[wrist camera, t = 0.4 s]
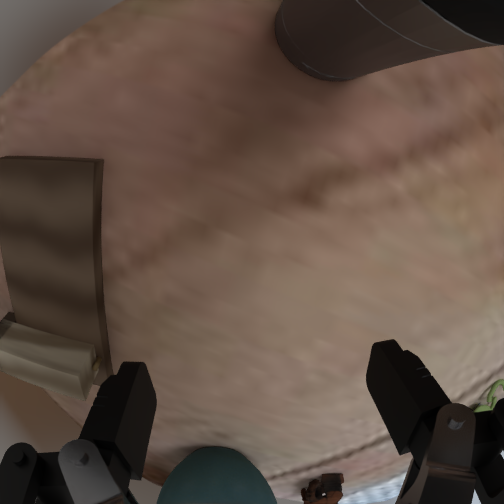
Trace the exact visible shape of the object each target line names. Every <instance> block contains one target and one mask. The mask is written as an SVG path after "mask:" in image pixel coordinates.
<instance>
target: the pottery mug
mask: <svg viewBox="0 0 504 504" xmlns="http://www.w3.org/2000/svg"><path fill="white" fill-rule="evenodd" d="M342 483H344V478H343V474H322V482H320V481H319V480H316V479H315V480H312V481H310V482H309V486H308V488H307V490H306V489H305V488H303V489H301V495H302V500H303V501H304V504H338V501H340V499H341V498H342V496H343V493H342V486H341V484H342ZM323 493H325V494H326V495H324V496H322V494H323Z"/></svg>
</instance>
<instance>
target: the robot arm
mask: <svg viewBox="0 0 504 504" xmlns="http://www.w3.org/2000/svg"><path fill="white" fill-rule="evenodd" d="M275 34H276V37H277V41H278V44H279V46H280V48H281V49H282V51H283V53H284V54H285V55H286V57H287V58H288V59H289V60H290V61H291V62H292V63H293V64H294V65H295V66H296V67H298V68H299V69H300V70H302V71H304V72H305V73H307V74H309V75H311V76H313V77H316V78H319V79H322V80H328V81H345V80H350V79H354V78H357V77H360V76H363V75H367V74H370V73H374V72H377V71H380V70H384V69H387V68H391V67H394V66H398V65H402V64H406V63H410V62H413V61H417V60H422V59H426V58H430V57H435V56H439V55H444V54H449V53H454V52H459V51H464V50H470V49H476V48H482V47H489V46H497V45H504V0H283V1H282V3H281V6H280V8H279V10H278V13H277V16H276V20H275ZM366 383H367V387H368V390H369V392H370V394H371V396H372V398H373V400H374V402H375V404H376V406H377V408H378V411H379V413H380V415H381V417H382V419H383V421H384V423H385V425H386V427H387V429H388V431H389V433H390V436H391V438H392V440H393V442H394V444H395V446H396V448H397V451H398V453H399V455H402V454H405V453H408V452H411V453H412V455H413V458H412V460H411V462H410V465H409V468H408V471H407V474H406V477H405V480H404V482H403V485H402V488H401V490H400V493H399V496H398V498H397V501H396V503H395V504H471V503H472V498H473V493H474V489H475V491H476V493H477V495H478V498H479V500H480V502H481V504H504V459H503V457H502V455H501V454H500V453H501V452H502V450H503V451H504V398H502V399H500V400H499V401H498V402H497V403H496V405H495V406H494V408H493V410H488V411H481V412H472V410H471V409H470V408H468V407H467V406H465V405H463V404H459V403H452V402H451V401H450V400H449V398H448V397H447V395H446V394H445V392H444V391H443V390H442V388H441V387H440V385H439V384H438V383H437V381H436V380H435V379H434V377H433V376H431V373H430V372H429V370H428V369H427V368H425V365H424V364H423V362H422V361H421V360H420V358H419V357H418V356H416V355H415V354H413V353H412V352H410V351H409V350H405V351H403V350H402V348H401V347H400V346H399V344H398V343H397V342H396V340H394V339H391V340H386V341H381V342H376V343H374V344H373V346H372V349H371V354H370V359H369V364H368V369H367V373H366ZM156 406H157V399H156V393H155V390H154V387H153V384H152V381H151V378H150V375H149V373H148V370H147V367H146V364H145V363H144V362H123V363H122V364H121V366H120V369H119V371H118V373H117V375H110V376H109V377H108V378H107V379H106V380H105V381H104V382H103V383H102V384H101V386H100V389H99V391H98V393H97V397H96V398H95V400H94V402H93V406H92V407H91V409H90V412H89V414H88V417H87V419H86V421H85V424H84V426H83V429H82V431H81V434H80V436H79V438H78V439H76V440H72V441H70V442H68V443H66V444H65V445H64V446H63V447H62V449H61V450H60V452H49V453H37V451H35V449H34V448H33V447H32V446H31V445H29V444H27V443H16V444H14V445H12V446H11V447H9V448H8V449H7V451H6V452H5V454H4V457H3V459H2V462H1V464H0V504H138V502H137V501H136V499H135V497H134V496H133V494H132V493H131V491H130V490H129V488H128V487H129V482H130V479H134V480H141V478H142V473H143V468H144V463H145V458H146V453H147V448H148V443H149V439H150V434H151V429H152V425H153V420H154V416H155V411H156ZM36 497H37V499H36ZM35 501H36V502H35Z"/></svg>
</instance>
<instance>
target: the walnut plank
mask: <svg viewBox="0 0 504 504" xmlns="http://www.w3.org/2000/svg"><path fill="white" fill-rule="evenodd" d="M103 164H104V159H89V158H71V157H46V156H5V157H1V158H0V245H1V252H2V258H3V264H4V270H5V275H6V280H7V285H8V290H9V294H10V298H11V303H12V307H13V310H14V314H15V318H16V322H17V323H18V324H21V325H24V326H27V327H30V328H33V329H37V330H40V331H43V332H47V333H50V334H54V335H58V336H61V337H65V338H69V339H73V340H76V341H80V342H84V343H89V344H93V345H94V348H95V354H96V359H97V357H101V358H102V360H101V363H100V365H99V367H98V369H99V370H98V373H97V375H96V377H95V380H94V382H93V384H95V385H99V386H101V384H102V383H103V382H104V381H105V380H106V379H107V378H108V377H109V376H110V375H113V370H112V363H111V357H110V350H109V343H108V335H107V326H106V317H105V306H104V294H103V279H102V256H101V201H102V179H103Z"/></svg>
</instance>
